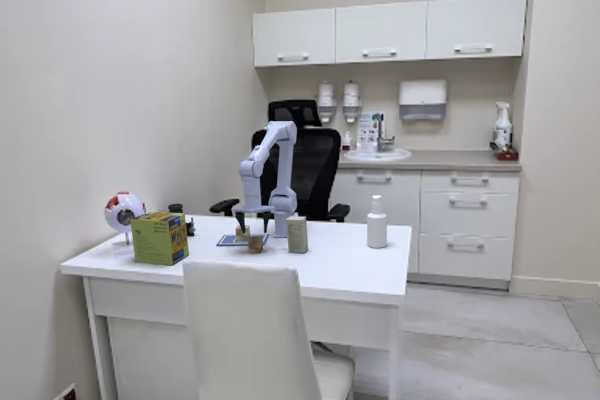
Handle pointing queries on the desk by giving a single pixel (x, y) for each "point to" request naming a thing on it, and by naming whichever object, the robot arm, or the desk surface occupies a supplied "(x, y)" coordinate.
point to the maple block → (240, 235)
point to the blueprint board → (231, 241)
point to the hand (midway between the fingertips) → (254, 232)
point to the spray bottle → (376, 224)
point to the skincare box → (297, 234)
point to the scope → (178, 209)
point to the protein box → (159, 237)
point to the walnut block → (255, 244)
